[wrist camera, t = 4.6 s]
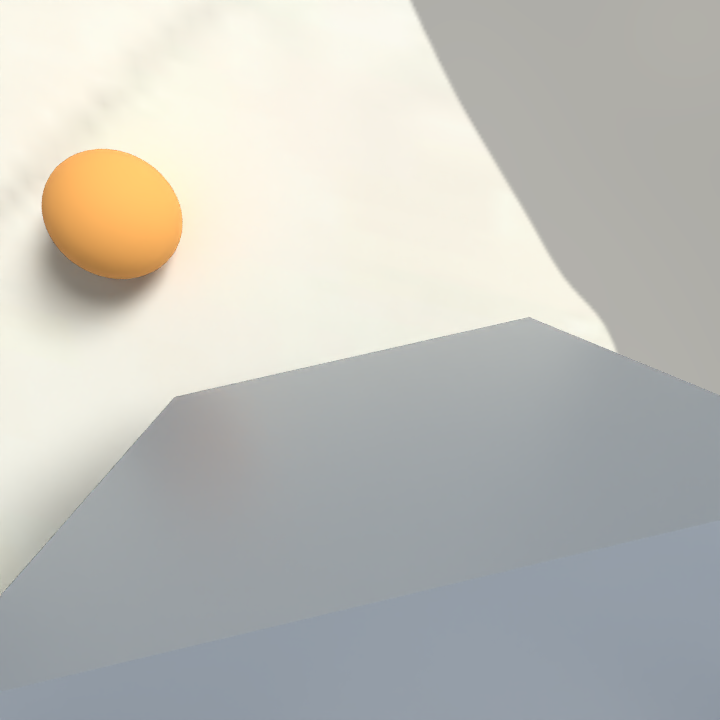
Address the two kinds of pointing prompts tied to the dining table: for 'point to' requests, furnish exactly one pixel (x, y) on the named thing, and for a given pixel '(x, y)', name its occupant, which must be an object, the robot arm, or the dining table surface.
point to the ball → (112, 214)
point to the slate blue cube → (392, 548)
